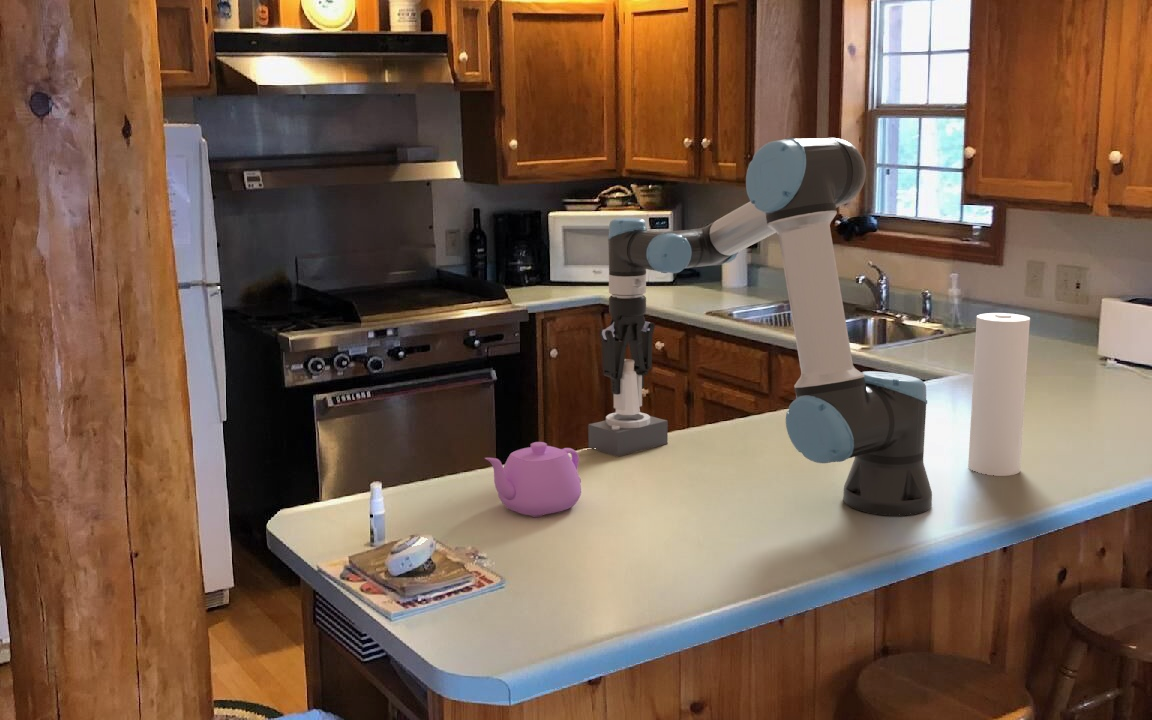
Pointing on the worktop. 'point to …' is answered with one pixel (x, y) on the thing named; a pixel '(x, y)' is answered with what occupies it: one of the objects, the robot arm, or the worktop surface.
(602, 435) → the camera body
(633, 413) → the salt shaker
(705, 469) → the worktop surface
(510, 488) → the teapot
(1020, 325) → the cylinder container
